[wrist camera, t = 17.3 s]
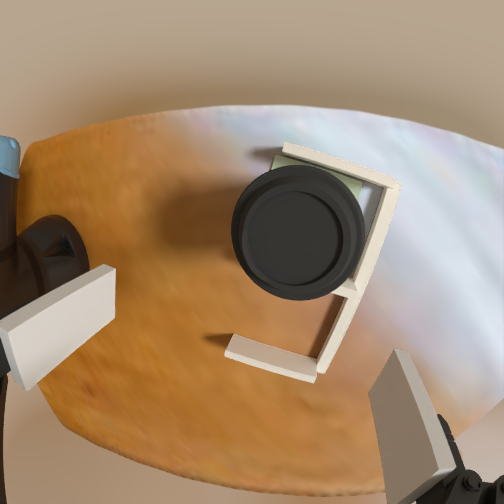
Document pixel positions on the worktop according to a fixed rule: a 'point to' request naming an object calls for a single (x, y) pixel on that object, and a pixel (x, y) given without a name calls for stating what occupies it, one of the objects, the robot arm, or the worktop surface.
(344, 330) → the e-shaped divided frame
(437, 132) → the worktop surface
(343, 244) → the coffee cup
